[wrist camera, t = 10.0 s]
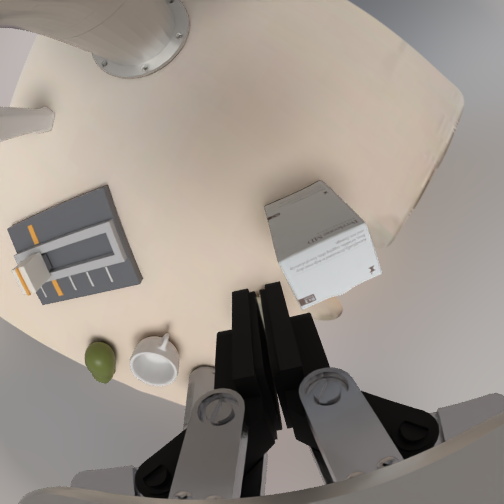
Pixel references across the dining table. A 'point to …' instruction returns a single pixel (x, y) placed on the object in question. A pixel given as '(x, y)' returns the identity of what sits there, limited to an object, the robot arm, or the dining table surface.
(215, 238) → the dining table surface
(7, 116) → the perfume bottle
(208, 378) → the energy drink can
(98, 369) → the pear
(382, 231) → the dining table surface
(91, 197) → the console
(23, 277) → the fader
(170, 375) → the teacup
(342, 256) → the skincare box
